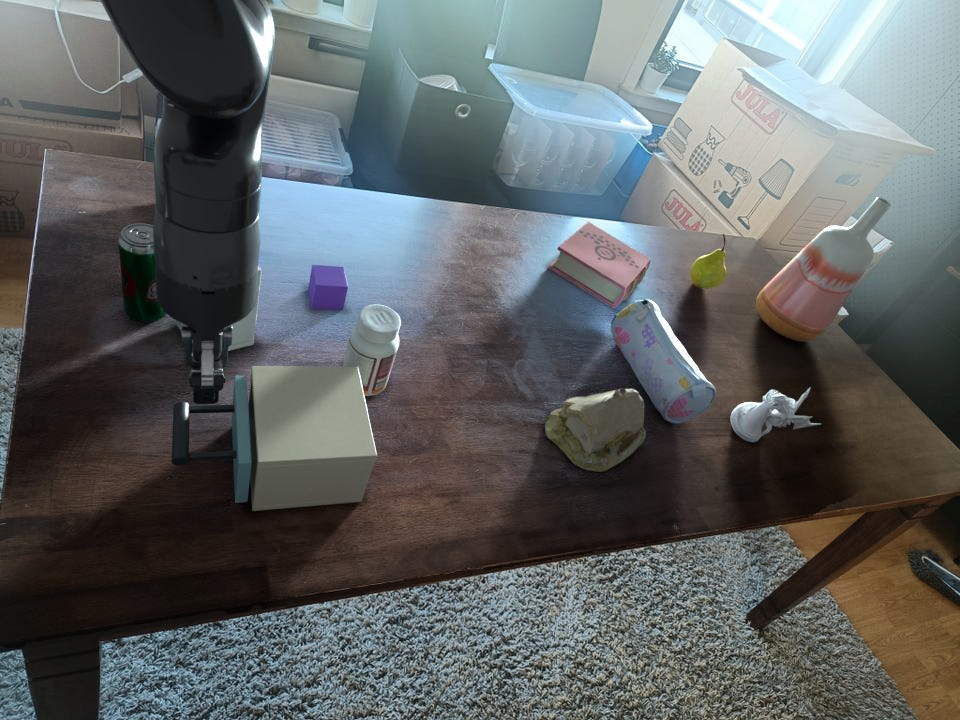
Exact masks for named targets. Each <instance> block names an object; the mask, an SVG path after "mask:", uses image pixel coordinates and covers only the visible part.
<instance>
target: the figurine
mask: <svg viewBox="0 0 960 720" xmlns="http://www.w3.org/2000/svg"><path fill="white" fill-rule="evenodd" d="M811 389H812V387H811V386H810V387H809V388H807V390H806V391H805V392H804V393H803V394H801V395H800V397H799V398H798V400H795V399H794V398H791V397H788V396H787V395H785V394H782V392H779V390H776V389H770V390H769V391H768V392H767V393H766V394H765V395H763V396H762V402H753V401H750V402H749V401H748V402H743V403H740V404H738V405H737V406H736V407H735V408H734V409H732V412H731V414H730V417H729V419H730V425H731V428H732V430H733V431H734V432H735V434H736V435H737V436H738V437H740V438H741V439H742V440H744V441H745V442H746V441H747V442H749V443H757V442H758V441H759V440H760V438H762V437H763V436H765V435H766V434H769V433H770V432H771V431H772V429H773V427H777V428H781V427H783V428H787V425H788V426H791V423H792V424H793V427H792V428H791V430H797V429H802V428H808V427H814V426H819V425H821V423H816V422H815V423H814V422H811V420H810V419H811V418H813V415H812V416H808V415H795V413H796V412H797V410H798V409H799V407H800V406H801V405H802V403H804V401H805V399H806V398H807V397H808V396H809V393H810V392H811ZM764 425H765V426H766V429H765V430H764V431H762V428H763V426H764Z"/></svg>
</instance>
